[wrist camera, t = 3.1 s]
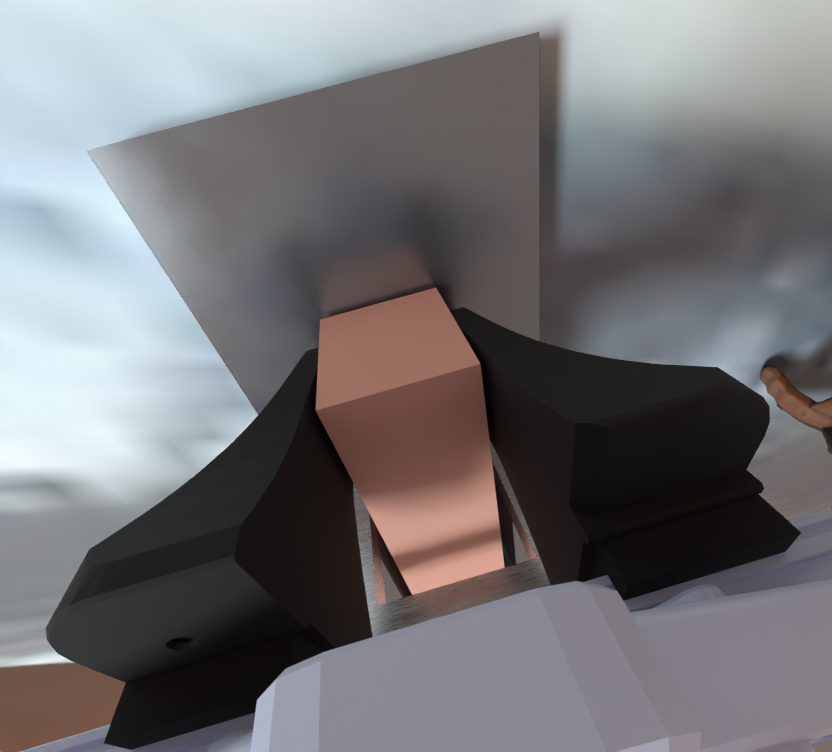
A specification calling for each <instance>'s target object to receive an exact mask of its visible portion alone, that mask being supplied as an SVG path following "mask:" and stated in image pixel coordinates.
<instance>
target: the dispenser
mask: <svg viewBox="0 0 832 752" xmlns="http://www.w3.org/2000/svg"><path fill="white" fill-rule="evenodd" d="M87 153H88V154H89V156H90V157H91V159H92V161H93V162H94V164H95V165H96V167H97V168H98V170H99V171H100V173H101V174H102V176H103V177H104V179H105V180H106V182H107V183H108V185H109V187H110V188H111V190H112V191H113V193H114V194H115V196H116V197H117V199H118V200H119V202H120V203H121V205H122V206H123V208H124V210H125V211H126V213H127V214H128V216H129V217H130V219H131V220H132V222H133V223H134V225H135V226H136V228H137V229H138V231H139V233H140V234H141V236H142V237H143V239H144V240H145V242H146V243H147V245H148V246H149V248H150V249H151V251H152V252H153V254H154V256H155V257H156V259H157V260H158V262H159V263H160V265H161V266H162V268H163V269H164V271H165V272H166V274H167V275H168V277H169V278H170V280H171V282H172V283H173V285H174V286H175V288H176V289H177V291H178V292H179V294H180V295H181V297H182V298H183V300H184V301H185V303H186V305H187V306H188V308H189V309H190V311H191V312H192V314H193V315H194V317H195V318H196V320H197V321H198V323H199V324H200V326H201V328H202V329H203V331H204V332H205V334H206V335H207V337H208V338H209V340H210V341H211V343H212V344H213V346H214V347H215V349H216V351H217V352H218V354H219V355H220V357H221V358H222V360H223V361H224V363H225V364H226V366H227V367H228V369H229V370H230V372H231V374H232V375H233V377H234V378H235V380H236V381H237V383H238V384H239V386H240V387H241V389H242V390H243V392H244V393H245V395H246V396H247V398H248V400H249V401H250V403H251V404H252V406H253V407H254V409H255V410H256V412H257V413H258V415H259V414H260V413H261V411H262V410H263V409H264V408H265V406H266V405H267V404H268V403H269V401H270V400H271V399H272V398H273V396H274V395H275V394H276V393H277V391H278V390H279V389H280V387H281V386H282V384H283V383H284V382H285V380H286V379H287V377H288V376H289V375H290V373H291V372H292V370H293V369H294V367H295V366H296V365H297V363H298V362H299V360H300V359H301V357H302V356H303V355H304V353H305V352H306V351H307V350H311V349H314V348H318V347H319V332H320V320H321V319H324V318H328V317H331V316H335V315H339V314H342V313H346V312H349V311H353V310H357V309H360V308H364V307H367V306H371V305H375V304H378V303H382V302H385V301H389V300H393V299H396V298H400V297H403V296H407V295H411V294H414V293H418V292H421V291H425V290H429V289H432V288H437V290H438V292H439V294H440V295H441V297H442V299H443V300H444V302H445V304H446V305H447V307H448V309H449V311H450V310H454V309H457V308H461V307H464V308H467V309H469V310H471V311H473V312H474V313H476V314H478V315H480V316H482V317H484V318H486V319H488V320H490V321H492V322H494V323H496V324H498V325H500V326H503V327H505V328H507V329H509V330H512V331H514V332H516V333H519V334H521V335H524V336H526V337H529V338H532V339H534V340H537V341H540V272H539V32H537V33H533V34H530V35H526V36H522V37H518V38H514V39H510V40H507V41H503V42H499V43H495V44H491V45H488V46H484V47H480V48H476V49H472V50H468V51H465V52H461V53H457V54H453V55H449V56H446V57H442V58H438V59H434V60H430V61H427V62H423V63H419V64H415V65H411V66H407V67H404V68H400V69H396V70H392V71H388V72H385V73H381V74H377V75H373V76H369V77H366V78H362V79H358V80H354V81H350V82H346V83H343V84H339V85H335V86H331V87H327V88H324V89H320V90H316V91H312V92H308V93H304V94H301V95H297V96H293V97H289V98H285V99H282V100H278V101H274V102H270V103H266V104H263V105H259V106H255V107H251V108H247V109H243V110H240V111H236V112H232V113H228V114H224V115H221V116H217V117H213V118H209V119H205V120H201V121H198V122H194V123H190V124H186V125H182V126H179V127H175V128H171V129H167V130H163V131H160V132H156V133H152V134H148V135H144V136H140V137H137V138H133V139H129V140H125V141H121V142H118V143H114V144H110V145H106V146H102V147H99V148H95V149H91V150H87ZM490 449H491V457H492V465H493V474H494V482H495V491H496V499H497V508H498V516H499V524H500V533H501V541H502V550H503V558H504V567H505V568H501V569H498V570H495V571H491V572H488V573H485V574H481V575H478V576H475V577H471V578H468V579H464V580H461V581H458V582H454V583H451V584H448V585H444V586H441V587H438V588H434V589H431V590H427V591H424V592H421V593H417V594H414V595H412V593H411V591H410V590H409V588H408V586H407V584H406V582H405V580H404V578H403V576H402V574H401V572H400V570H399V569H398V567H397V565H396V563H395V561H394V559H393V557H392V555H391V553H390V551H389V549H388V548H387V546H386V544H385V542H384V540H383V538H382V536H381V534H380V532H379V530H378V529H377V527H376V525H375V523H374V521H373V519H372V517H371V515H370V513H369V511H368V509H367V508H366V506H365V504H364V502H363V500H362V498H361V496H360V494H359V492H358V490H357V488H356V487H355V485H354V483H353V491H354V506H355V515H356V523H357V532H358V540H359V548H360V555H361V563H362V570H363V577H364V584H365V591H366V597H367V604H368V611H369V617H370V623H371V629H372V635H373V637H375V636H379V635H382V634H385V633H389V632H392V631H395V630H399V629H402V628H405V627H409V626H412V625H415V624H419V623H422V622H425V621H429V620H432V619H435V618H439V617H442V616H445V615H449V614H452V613H455V612H459V611H462V610H465V609H469V608H472V607H475V606H479V605H482V604H485V603H489V602H492V601H495V600H499V599H502V598H505V597H509V596H512V595H515V594H519V593H522V592H525V591H528V590H532V589H536V588H541V587H547V586H551V585H550V582H549V580H548V577H547V574H546V572H545V569H544V567H543V564H542V561H541V559H540V556H539V554H538V551H537V549H536V546H535V543H534V541H533V538H532V536H531V533H530V531H529V528H528V526H527V523H526V521H525V518H524V516H523V513H522V511H521V509H520V506H519V504H518V501H517V499H516V497H515V494H514V492H513V489H512V487H511V485H510V482H509V480H508V477H507V475H506V473H505V470H504V468H503V466H502V463H501V461H500V459H499V457H498V455H497V453H496V451H495V449H494V447H493V445H492V443H491V442H490Z"/></svg>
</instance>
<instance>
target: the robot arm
mask: <svg viewBox="0 0 832 752" xmlns="http://www.w3.org/2000/svg"><path fill="white" fill-rule="evenodd" d="M450 312H451V314H452V316H453V317H454V319H455V321H456V323H457V324H458V326H459V328H460V329H461V331H462V333H463V335H464V336H465V338H466V340H467V341H468V343H469V345H470V347H471V348H472V350H473V352H474V353H475V355H476V357H477V359H478V360H479V362H480V364H481V373H482V381H483V389H484V398H485V406H486V415H487V423H488V432H489V440H490V442H491V443H492V445H493V447H494V449H495V451H496V453H497V455H498V457H499V459H500V461H501V463H502V466H503V468H504V470H505V473H506V475H507V477H508V480H509V482H510V485H511V487H512V489H513V492H514V494H515V497H516V499H517V501H518V504H519V506H520V509H521V511H522V513H523V516H524V518H525V521H526V523H527V526H528V528H529V531H530V533H531V536H532V538H533V541H534V543H535V546H536V549H537V551H538V554H539V556H540V559H541V561H542V564H543V567H544V569H545V572H546V574H547V577H548V580H549V582H550V585H551V586H547V587H541V588H536V589H532V590H528V591H525V592H522V593H519V594H515V595H512V596H509V597H505V598H502V599H499V600H495V601H492V602H489V603H485V604H482V605H479V606H475V607H472V608H469V609H465V610H462V611H459V612H455V613H452V614H449V615H445V616H442V617H439V618H435V619H432V620H429V621H425V622H422V623H419V624H415V625H412V626H409V627H405V628H402V629H399V630H395V631H392V632H389V633H385V634H382V635H379V636H375V637H373V635H372V629H371V623H370V617H369V611H368V604H367V597H366V591H365V584H364V577H363V570H362V563H361V555H360V548H359V540H358V532H357V523H356V515H355V506H354V491H353V481H352V479H351V477H350V475H349V473H348V471H347V469H346V467H345V466H344V464H343V462H342V460H341V458H340V456H339V454H338V452H337V450H336V448H335V447H334V445H333V443H332V441H331V439H330V437H329V435H328V433H327V431H326V429H325V427H324V426H323V424H322V422H321V420H320V418H319V416H318V414H317V412H316V392H317V372H318V352H319V347H318V348H314V349H311V350H307V351H306V352H305V353H304V355H303V356H302V357H301V359H300V360H299V362H298V363H297V365H296V366H295V367H294V369H293V370H292V372H291V373H290V375H289V376H288V377H287V379H286V380H285V382H284V383H283V384H282V386H281V387H280V389H279V390H278V391H277V393H276V394H275V395H274V396H273V398H272V399H271V400H270V401H269V403H268V404H267V405H266V406H265V408H264V409H263V410H262V411H261V413H260V414H259V415H258V416H257V417H256V418H255V420H254V421H253V422H252V423H251V424H250V425H249V426H248V427H247V428H246V429H245V430H244V431H243V432H242V433H241V434H240V435H239V436H238V437H237V439H236V440H235V441H234V442H233V443H231V444H230V445H229V446H228V447H227V448H226V449H225V450H224V451H223V452H222V453H220V454H219V455H218V456H217V457H216V458H215V459H214V460H213V461H211V462H210V463H209V464H208V465H207V466H206V467H205V468H203V469H202V470H201V471H200V472H199V473H198V474H196V475H195V476H194V477H193V478H191V479H190V480H189V481H188V482H186V483H185V484H184V485H183V486H181V487H180V488H179V489H177V490H176V491H175V492H173V493H172V494H171V495H169V496H168V497H167V498H165V499H164V500H163V501H161V502H160V503H159V504H157V505H156V506H154V507H153V508H151V509H150V510H149V511H147V512H146V513H144V514H143V515H141V516H140V517H138V518H137V519H135V520H134V521H132V522H131V523H129V524H128V525H126V526H125V527H123V528H122V529H120V530H119V531H117V532H116V533H114V534H112V535H111V536H109V537H108V538H106V539H105V540H103V541H102V542H100V543H99V544H97V545H95V546H94V547H92V548H91V549H90V550H89V551H88V553H87V555H86V557H85V558H84V560H83V562H82V564H81V566H80V567H79V569H78V571H77V573H76V574H75V576H74V578H73V580H72V582H71V583H70V585H69V587H68V589H67V591H66V592H65V594H64V596H63V598H62V600H61V601H60V603H59V605H58V607H57V609H56V610H55V612H54V614H53V616H52V618H51V619H50V621H49V623H48V625H47V627H46V635H47V640H48V642H49V644H50V645H51V646H52V647H53V648H54V649H55V651H56V652H57V653H58V654H60V655H62V656H63V657H65V658H67V659H69V660H71V661H73V662H75V663H78V664H80V665H83V666H85V667H88V668H90V669H93V670H95V671H98V672H101V673H103V674H106V675H108V676H111V677H113V678H116V679H118V680H121V681H123V682H126V684H125V687H124V689H123V692H122V695H121V697H120V700H119V703H118V706H117V708H116V711H115V714H114V716H113V719H112V722H111V724H110V725H107V726H104V727H100V728H97V729H94V730H90V731H87V732H83V733H80V734H77V735H74V736H70V737H67V738H63V739H60V740H57V741H53V742H50V743H47V744H44V745H40V746H37V747H34V748H30V749H27V750H24V751H20V752H816V751H815V750H814V748H813V747H817V746H820V745H822V744H826V743H829V742H832V507H831V508H828V509H824V510H821V511H818V512H814V513H811V514H808V515H805V516H801V517H798V518H795V519H791V520H787V519H786V518H784V517H783V516H782V515H781V514H780V513H779V512H778V511H777V510H775V509H774V508H773V507H772V506H771V505H770V504H769V503H768V502H766V501H765V500H764V499H763V498H762V497H761V496H760V495H759V493H761V492H762V491H763V489H764V487H763V484H762V483H761V482H760V481H759V480H758V479H757V478H755V477H754V476H753V475H752V474H751V473H750V472H748V471H747V470H746V469H747V467H748V465H749V464H750V462H751V460H752V458H753V456H754V454H755V452H756V451H757V449H758V447H759V445H760V443H761V441H762V440H763V438H764V436H765V433H766V431H767V428H768V425H769V420H770V415H769V405H768V404H767V402H766V401H765V399H764V398H763V397H762V396H761V395H759V394H758V393H756V392H755V391H753V390H751V389H750V388H748V387H747V386H745V385H744V384H742V383H741V382H739V381H738V380H736V379H735V378H733V377H732V376H730V375H729V374H727V373H726V372H724V371H722V370H721V369H719V368H717V367H700V366H681V365H662V364H651V363H642V362H633V361H625V360H618V359H611V358H605V357H600V356H595V355H590V354H584V353H580V352H575V351H571V350H567V349H563V348H560V347H557V346H553V345H550V344H546V343H543V342H540V341H537V340H534V339H532V338H529V337H526V336H524V335H521V334H519V333H516V332H514V331H512V330H509V329H507V328H505V327H503V326H500V325H498V324H496V323H494V322H492V321H490V320H488V319H486V318H484V317H482V316H480V315H478V314H476V313H474V312H473V311H471V310H469V309H467V308H464V307H461V308H457V309H454V310H450ZM0 752H3V751H0Z"/></svg>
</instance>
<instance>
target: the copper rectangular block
mask: <svg viewBox="0 0 832 752" xmlns="http://www.w3.org/2000/svg"><path fill="white" fill-rule="evenodd" d="M316 412H317V414H318V416H319V418H320V420H321V422H322V424H323V426H324V427H325V429H326V431H327V433H328V435H329V437H330V439H331V441H332V443H333V445H334V447H335V448H336V450H337V452H338V454H339V456H340V458H341V460H342V462H343V464H344V466H345V467H346V469H347V471H348V473H349V475H350V477H351V479H352V481H353V483H354V485H355V487H356V488H357V490H358V492H359V494H360V496H361V498H362V500H363V502H364V504H365V506H366V508H367V509H368V511H369V513H370V515H371V517H372V519H373V521H374V523H375V525H376V527H377V529H378V530H379V532H380V534H381V536H382V538H383V540H384V542H385V544H386V546H387V548H388V549H389V551H390V553H391V555H392V557H393V559H394V561H395V563H396V565H397V567H398V569H399V570H400V572H401V574H402V576H403V578H404V580H405V582H406V584H407V586H408V588H409V590H410V591H411V593H412V595H414V594H417V593H421V592H424V591H427V590H431V589H434V588H438V587H441V586H444V585H448V584H451V583H454V582H458V581H461V580H464V579H468V578H471V577H475V576H478V575H481V574H485V573H488V572H491V571H495V570H498V569H501V568H505V567H504V558H503V550H502V541H501V533H500V524H499V516H498V508H497V499H496V491H495V482H494V474H493V465H492V457H491V449H490V440H489V432H488V423H487V415H486V406H485V398H484V389H483V381H482V373H481V364H480V362H479V360H478V359H477V357H476V355H475V353H474V352H473V350H472V348H471V347H470V345H469V343H468V341H467V340H466V338H465V336H464V335H463V333H462V331H461V329H460V328H459V326H458V324H457V323H456V321H455V319H454V317H453V316H452V314H451V312H450V311H449V309H448V307H447V305H446V304H445V302H444V300H443V299H442V297H441V295H440V294H439V292H438V290H437V288H432V289H429V290H425V291H421V292H418V293H414V294H411V295H407V296H403V297H400V298H396V299H393V300H389V301H385V302H382V303H378V304H375V305H371V306H367V307H364V308H360V309H357V310H353V311H349V312H346V313H342V314H339V315H335V316H331V317H328V318H324V319H321V320H320V332H319V352H318V372H317V392H316Z"/></svg>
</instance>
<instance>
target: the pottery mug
mask: <svg viewBox="0 0 832 752" xmlns="http://www.w3.org/2000/svg"><path fill="white" fill-rule="evenodd" d="M760 379H761V381H762V382H763V383H764V384H765V385H766V387H767V392H768V393H769V394H770V395H772V396H773V397H774V398H775V400H776V403H777V406H778V407H779V408H780V409H781V410H783V411H785V412H787V413H788V414H790V415H791V416H792V417H794V418H795V419H796V420H798V421H800V422H802V423H803V424H805V425H807V426H809V427H812V428H814V429H817V430H819V431H821V432H822V433H823V436H824V438H825V440H826V443H827V445H828V452H829V453H831V454H832V397H831V398H829V399H826V400H824V401H822V402H815V401H814V400H812V399H811V398H809V397H807V396H805V395H804V394H802V393H801V392H800V391H798V390H797V389H796V388H795V387H794V386H793V385H792V384H791V383H790V381H789V380H788V379H787V378H786V377H785V375H784V373H783V372H782V371H781V370H779V369H778V368H775V367H765V368H764V369H763V370H761V374H760Z"/></svg>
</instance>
